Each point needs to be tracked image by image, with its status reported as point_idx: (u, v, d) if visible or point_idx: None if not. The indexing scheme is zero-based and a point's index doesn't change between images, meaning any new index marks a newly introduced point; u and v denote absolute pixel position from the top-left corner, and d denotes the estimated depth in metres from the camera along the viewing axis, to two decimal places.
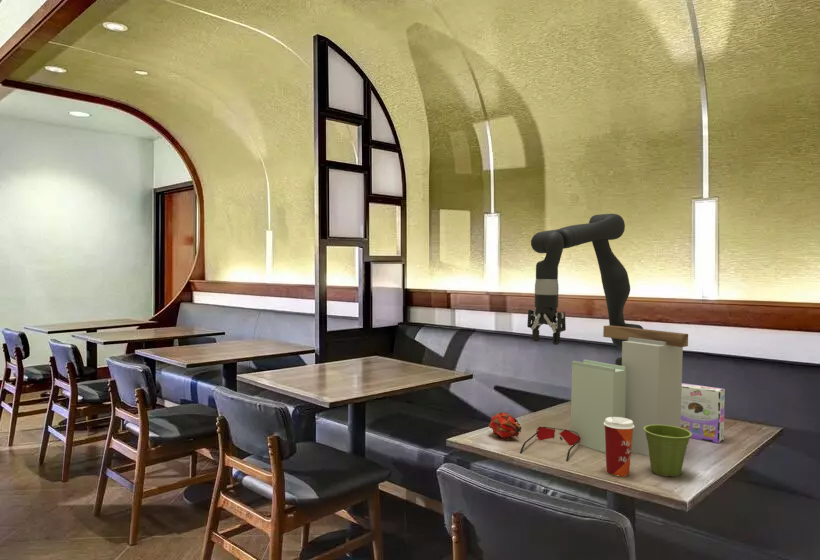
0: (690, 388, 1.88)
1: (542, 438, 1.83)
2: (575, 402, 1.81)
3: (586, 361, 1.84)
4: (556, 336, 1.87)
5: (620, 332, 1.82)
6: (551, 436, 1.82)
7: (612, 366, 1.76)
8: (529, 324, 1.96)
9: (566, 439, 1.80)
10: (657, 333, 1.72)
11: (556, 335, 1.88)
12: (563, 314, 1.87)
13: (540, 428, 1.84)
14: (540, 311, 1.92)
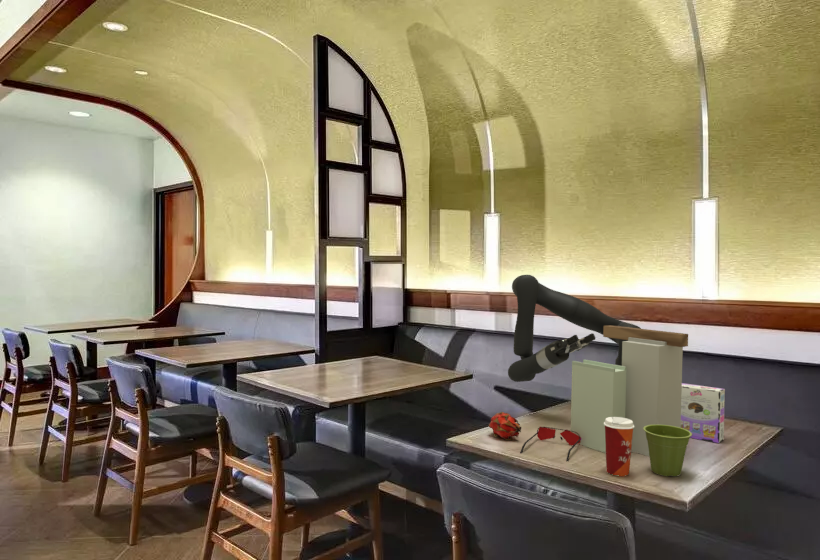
0: (690, 388, 1.88)
1: (543, 438, 1.83)
2: (575, 402, 1.81)
3: (586, 361, 1.84)
4: (570, 342, 1.94)
5: (620, 332, 1.82)
6: (552, 436, 1.82)
7: (612, 366, 1.76)
8: (587, 345, 2.02)
9: (566, 440, 1.80)
10: (657, 333, 1.72)
11: (570, 343, 1.94)
12: (551, 348, 1.98)
13: (541, 428, 1.83)
14: None
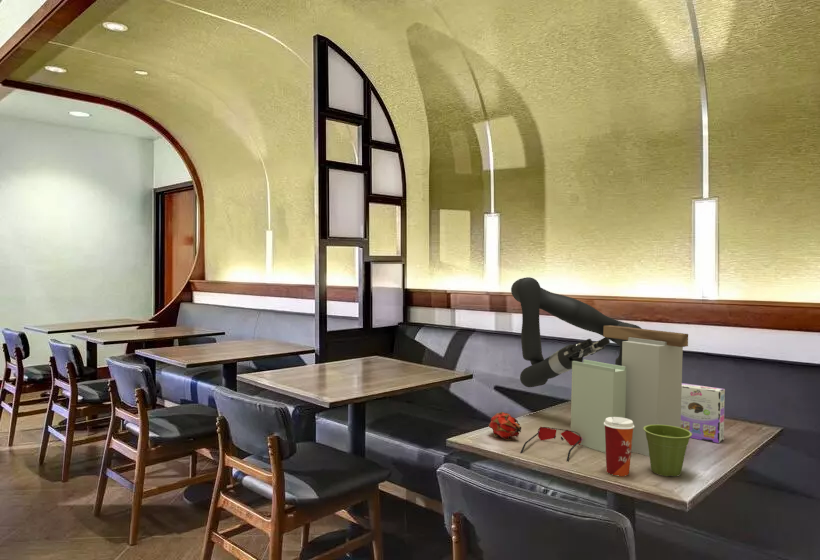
0: (690, 388, 1.88)
1: (543, 438, 1.83)
2: (575, 402, 1.81)
3: (586, 361, 1.84)
4: (584, 346, 1.89)
5: (620, 332, 1.82)
6: (552, 436, 1.82)
7: (612, 366, 1.76)
8: (601, 349, 1.97)
9: (567, 440, 1.80)
10: (657, 333, 1.72)
11: (583, 347, 1.89)
12: (564, 352, 1.94)
13: (541, 428, 1.83)
14: (581, 355, 1.98)
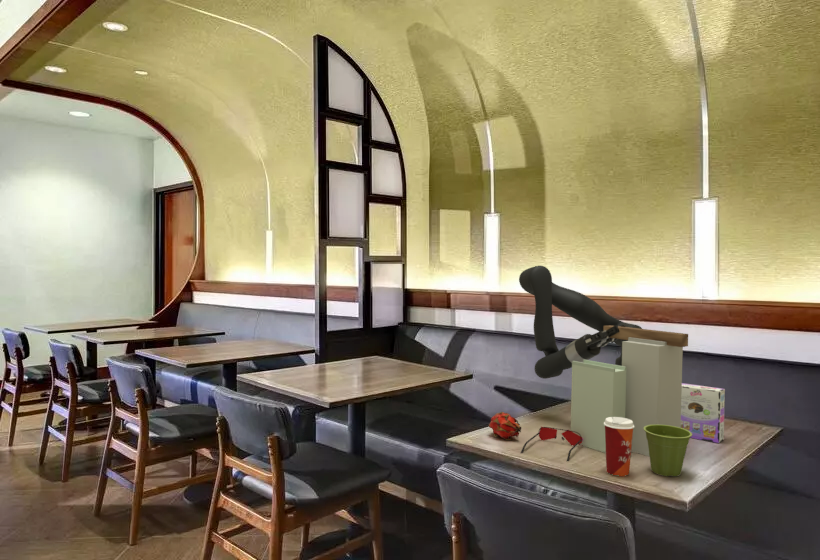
0: (690, 388, 1.88)
1: (544, 438, 1.83)
2: (575, 402, 1.81)
3: (586, 361, 1.84)
4: (610, 334, 1.83)
5: (620, 332, 1.82)
6: (553, 436, 1.82)
7: (612, 366, 1.76)
8: None
9: (568, 440, 1.79)
10: (657, 333, 1.72)
11: (610, 334, 1.84)
12: (586, 339, 1.87)
13: (542, 428, 1.83)
14: None
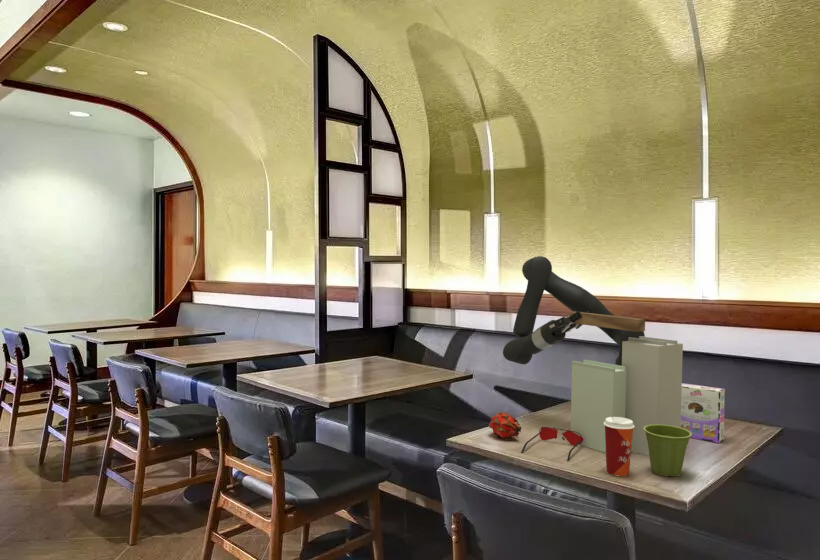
0: (690, 388, 1.88)
1: (545, 438, 1.83)
2: (575, 402, 1.81)
3: (586, 361, 1.84)
4: (573, 319, 1.89)
5: (582, 317, 1.87)
6: (554, 436, 1.82)
7: (612, 366, 1.76)
8: None
9: (569, 440, 1.79)
10: (616, 318, 1.77)
11: (572, 319, 1.89)
12: (550, 325, 1.92)
13: (543, 428, 1.83)
14: (564, 330, 1.97)
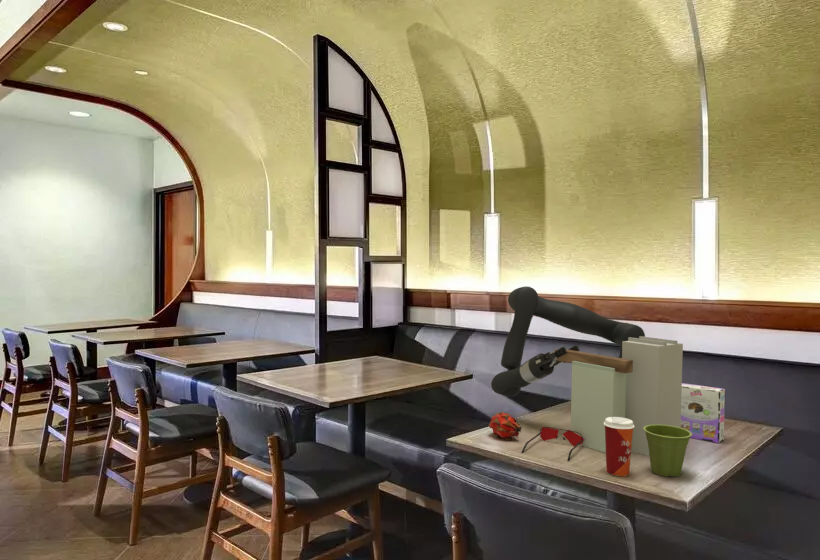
0: (690, 388, 1.88)
1: (545, 438, 1.83)
2: (575, 402, 1.81)
3: None
4: (558, 355, 1.85)
5: (569, 356, 1.84)
6: (554, 436, 1.82)
7: None
8: None
9: (569, 440, 1.79)
10: (603, 359, 1.74)
11: (557, 355, 1.86)
12: (536, 360, 1.89)
13: (543, 428, 1.83)
14: (552, 364, 1.94)
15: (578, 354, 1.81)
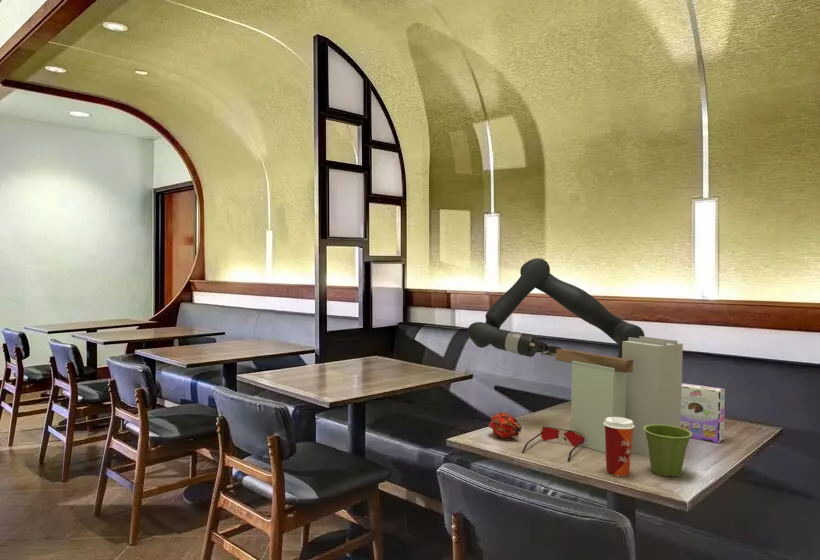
0: (690, 388, 1.88)
1: (546, 438, 1.83)
2: (575, 402, 1.81)
3: None
4: (552, 351, 1.91)
5: (570, 355, 1.84)
6: (555, 436, 1.81)
7: None
8: None
9: (570, 440, 1.79)
10: (604, 358, 1.74)
11: (551, 351, 1.92)
12: (531, 343, 1.95)
13: (544, 428, 1.83)
14: None
15: (579, 354, 1.81)
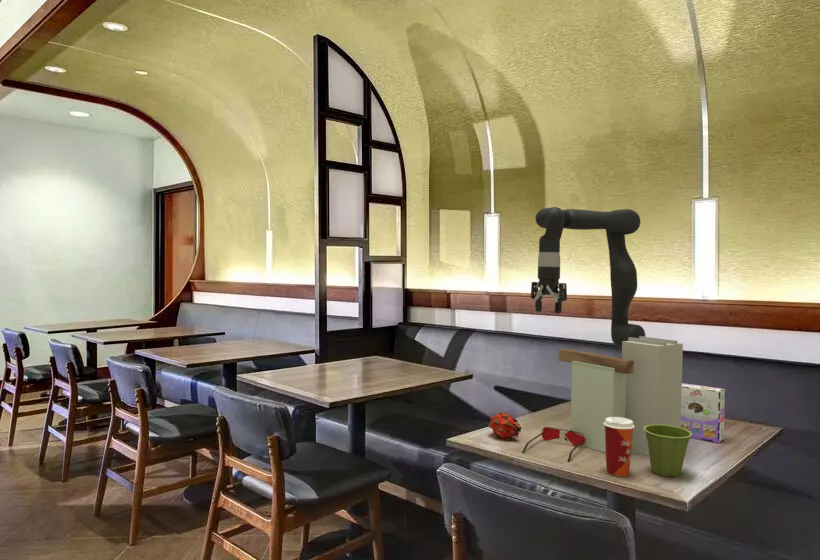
0: (690, 388, 1.88)
1: (547, 438, 1.83)
2: (575, 402, 1.81)
3: None
4: (558, 306, 2.00)
5: (572, 356, 1.84)
6: (556, 437, 1.81)
7: None
8: (532, 295, 2.09)
9: (571, 440, 1.79)
10: (604, 359, 1.73)
11: (558, 304, 2.00)
12: (564, 285, 1.99)
13: (545, 428, 1.83)
14: (543, 282, 2.05)
15: (580, 354, 1.81)
